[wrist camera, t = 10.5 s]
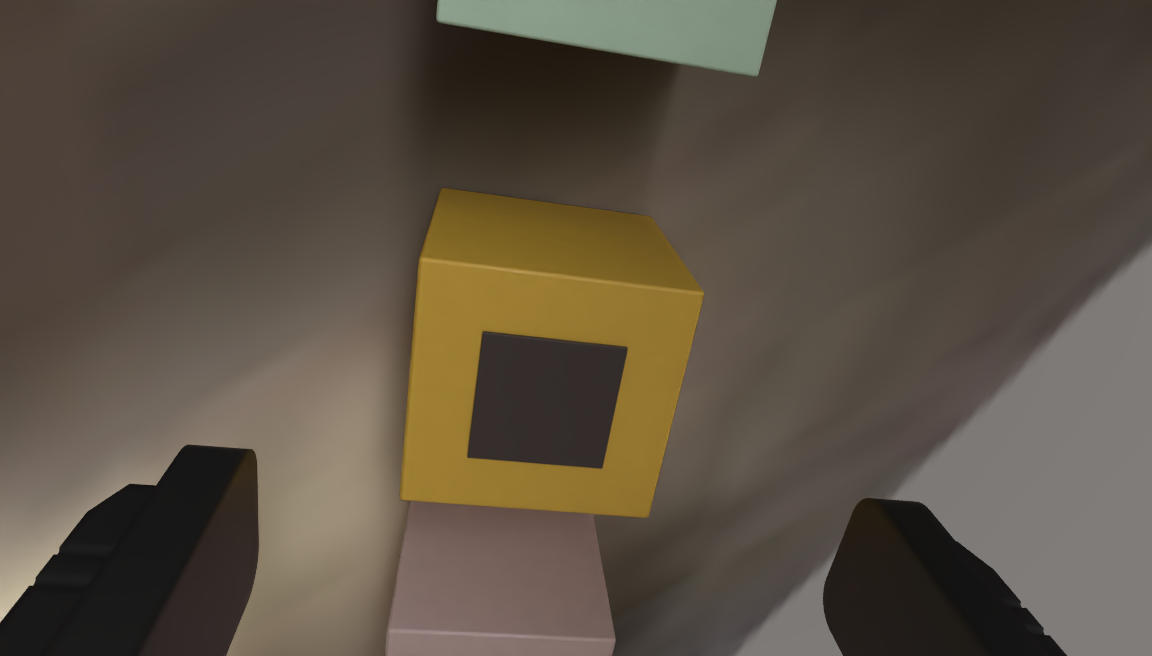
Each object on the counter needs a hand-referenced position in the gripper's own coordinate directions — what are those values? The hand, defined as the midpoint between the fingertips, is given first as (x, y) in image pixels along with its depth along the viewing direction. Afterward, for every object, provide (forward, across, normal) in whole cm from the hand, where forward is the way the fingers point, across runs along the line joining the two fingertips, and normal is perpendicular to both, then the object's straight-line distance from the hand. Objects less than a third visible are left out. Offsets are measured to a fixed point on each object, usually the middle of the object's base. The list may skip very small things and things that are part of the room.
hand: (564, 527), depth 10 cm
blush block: (+9, 0, +9) cm, 12 cm away
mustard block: (+9, 0, 0) cm, 9 cm away
